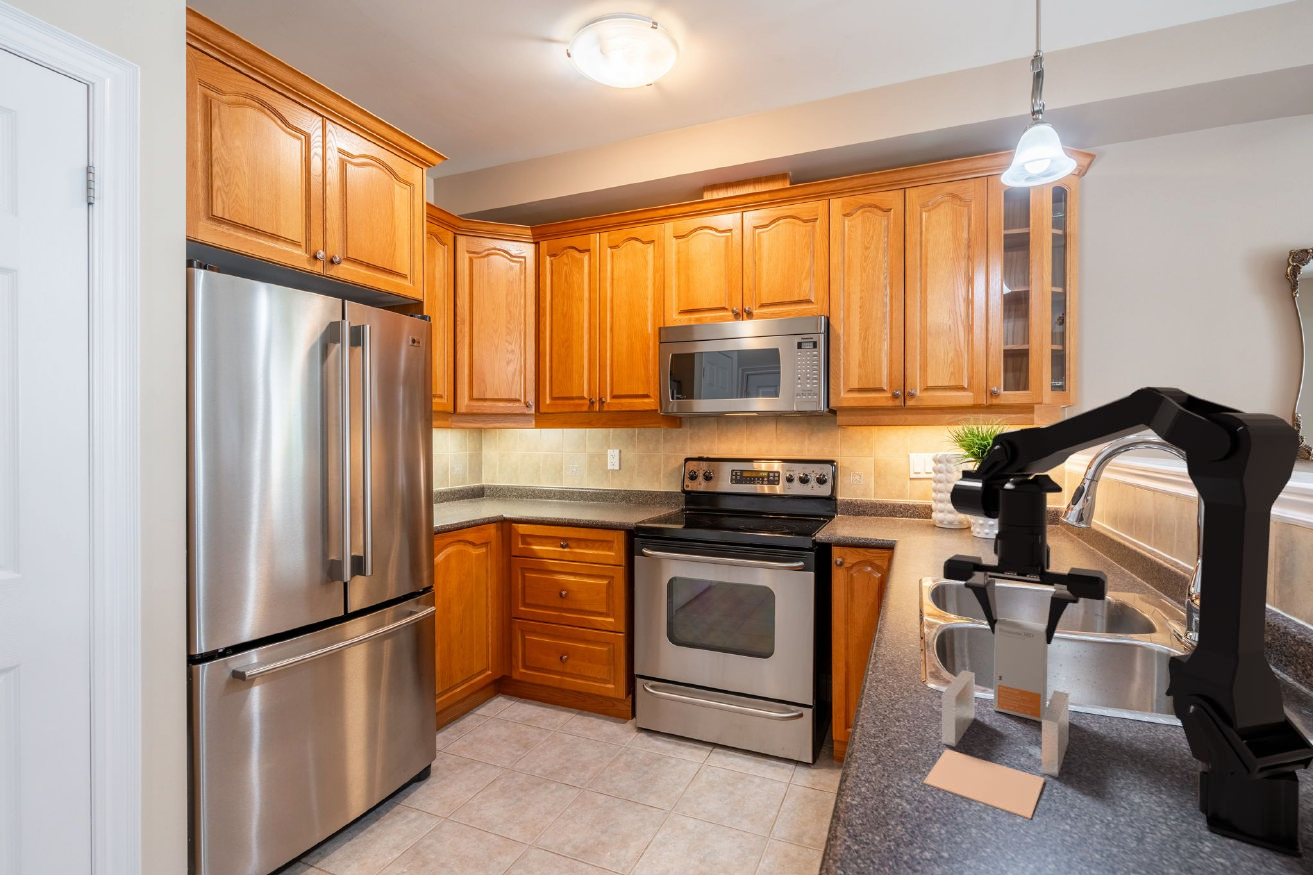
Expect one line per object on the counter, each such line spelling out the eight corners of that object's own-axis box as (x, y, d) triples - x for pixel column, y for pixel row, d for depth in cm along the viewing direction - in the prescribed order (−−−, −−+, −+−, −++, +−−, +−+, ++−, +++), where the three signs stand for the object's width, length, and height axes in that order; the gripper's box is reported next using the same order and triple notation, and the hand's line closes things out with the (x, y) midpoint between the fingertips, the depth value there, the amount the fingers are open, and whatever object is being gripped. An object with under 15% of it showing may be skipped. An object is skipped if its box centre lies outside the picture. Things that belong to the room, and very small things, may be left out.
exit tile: (1044, 781, 68) (1044, 778, 68) (1030, 821, 61) (1030, 817, 61) (946, 752, 74) (946, 748, 74) (923, 785, 67) (923, 781, 67)
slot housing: (1068, 742, 77) (1068, 693, 77) (1057, 777, 69) (1057, 722, 69) (962, 714, 84) (962, 670, 84) (941, 743, 77) (941, 694, 77)
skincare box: (992, 711, 85) (993, 623, 85) (997, 700, 89) (997, 616, 89) (1045, 723, 82) (1045, 632, 82) (1048, 711, 85) (1048, 623, 85)
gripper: (1110, 523, 85) (1110, 637, 86) (962, 512, 97) (961, 612, 97) (1104, 533, 77) (1103, 660, 77) (942, 520, 88) (942, 630, 89)
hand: (1021, 638), depth 85 cm, fingers closed on skincare box, 6 cm apart
